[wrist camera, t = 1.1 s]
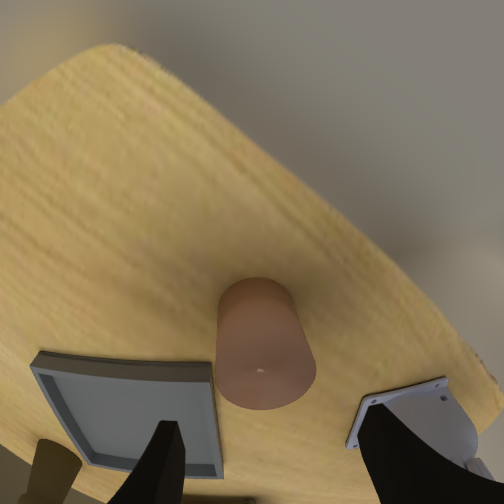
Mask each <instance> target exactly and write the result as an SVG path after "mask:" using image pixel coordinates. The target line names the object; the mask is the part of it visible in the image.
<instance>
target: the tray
mask: <svg viewBox="0 0 504 504" xmlns="http://www.w3.org/2000/svg"><path fill="white" fill-rule="evenodd" d="M30 368H31V370H32V372H33V375H34V377H35V379H36V381H37V383H38V385H39V386H40V388H41V390H42V392H43V394H44V396H45V398H46V400H47V401H48V403H49V405H50V407H51V408H52V410H53V412H54V414H55V415H56V417H57V419H58V420H59V422H60V424H61V425H62V427H63V428H64V430H65V432H66V433H67V435H68V436H69V438H70V439H71V441H72V442H73V444H74V445H75V447H76V448H77V450H78V451H79V452H80V454H81V455H82V457H83V458H84V459H85V461H86V462H87V463H88V465H91V466H96V467H101V468H106V469H111V470H117V471H122V472H129V473H131V472H132V470H133V469H134V467H135V466H136V464H137V462H138V461H139V459H140V457H141V456H142V454H143V452H144V451H145V449H146V447H147V445H148V443H149V442H150V440H151V438H152V436H153V434H154V432H155V429H156V427H157V425H158V423H159V421H161V420H169V421H178V425H179V428H180V432H181V435H182V439H183V442H184V446H185V449H186V460H185V478H189V479H224V467H223V457H222V450H221V443H220V435H219V428H218V420H217V412H216V404H215V395H214V386H213V377H212V368H211V363H182V362H149V361H130V360H116V359H104V358H93V357H83V356H74V355H66V354H58V353H51V352H44V351H40V352H39V353H38V354H37V356H36V357H35V359H34V360H33V361H32V363H31V364H30Z"/></svg>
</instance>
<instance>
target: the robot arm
mask: <svg viewBox="0 0 504 504" xmlns="http://www.w3.org/2000/svg"><path fill="white" fill-rule="evenodd" d="M448 381H449V379H448V378H447V377H444V378H440V379H437V380H433V381H430V382H426V383H423V384H419V385H415V386H411V387H407V388H403V389H399V390H395V391H390V392H386V393H381V394H376V395H372V396H367V397H365V398H364V399H363V400H362V403H361V405H360V408H359V411H358V414H357V417H356V419H355V422H354V425H353V427H352V430H351V433H350V435H349V438H348V440H347V443H346V445H345V447H346V449H354V448H358V447H360V451H361V454H362V457H363V460H364V463H365V465H366V467H367V470H368V472H369V475H370V477H371V480H372V482H373V485H374V487H375V489H376V492H377V494H378V497H379V500H380V503H381V504H504V483H500V482H496V481H495V480H494V478H493V476H492V475H491V473H490V472H489V470H488V469H487V467H486V466H485V464H484V463H483V461H482V460H481V459H480V458H474V457H475V454H476V452H477V448H478V436H477V432H476V428H475V426H474V424H473V423H472V421H471V420H470V418H469V417H468V415H467V414H466V413H465V411H464V410H463V408H462V407H461V406H460V404H459V403H458V402H457V400H456V399H455V397H454V396H453V395H452V393H451V392H450V391H449V389H448V388H447V387H446V386H447V384H448ZM185 460H186V449H185V446H184V442H183V439H182V435H181V432H180V428H179V425H178V421H169V420H161V421H159V423H158V425H157V427H156V429H155V432H154V434H153V436H152V438H151V440H150V442H149V443H148V445H147V447H146V449H145V451H144V452H143V454H142V456H141V457H140V459H139V461H138V462H137V464H136V466H135V467H134V469H133V470H132V472H131V473H130V475H129V476H128V478H127V479H126V480H125V482H124V483H123V485H122V486H121V487H120V489H119V490H118V491H117V492H116V494H115V495H114V496H113V497H112V498H111V499H110V501H109V502H108V503H107V504H181V499H182V492H183V485H184V478H185Z"/></svg>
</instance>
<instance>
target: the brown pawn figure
mask: <svg viewBox="0 0 504 504" xmlns="http://www.w3.org/2000/svg"><path fill="white" fill-rule="evenodd" d="M81 466H82V462H81V460H80V459H79V458H78V457H77V456H76V455H75V454H74V453H73V452H71V451H70V450H69V449H67V448H65V447H64V446H62V445H60V444H58V443H56V442H53V441H50V440H47V439H41V440H39V441H38V444H37V448H36V452H35V456H34V460H33V464H32V468H31V473H30V477H29V482H28V487H27V492H26V493H25V494H23V495H21V496H20V498H19V500H18V503H17V504H63V502H64V500H65V498H66V496H67V494H68V492H69V490H70V488H71V486H72V484H73V482H74V480H75V478H76V476H77V474H78V472H79V470H80V468H81Z"/></svg>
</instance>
